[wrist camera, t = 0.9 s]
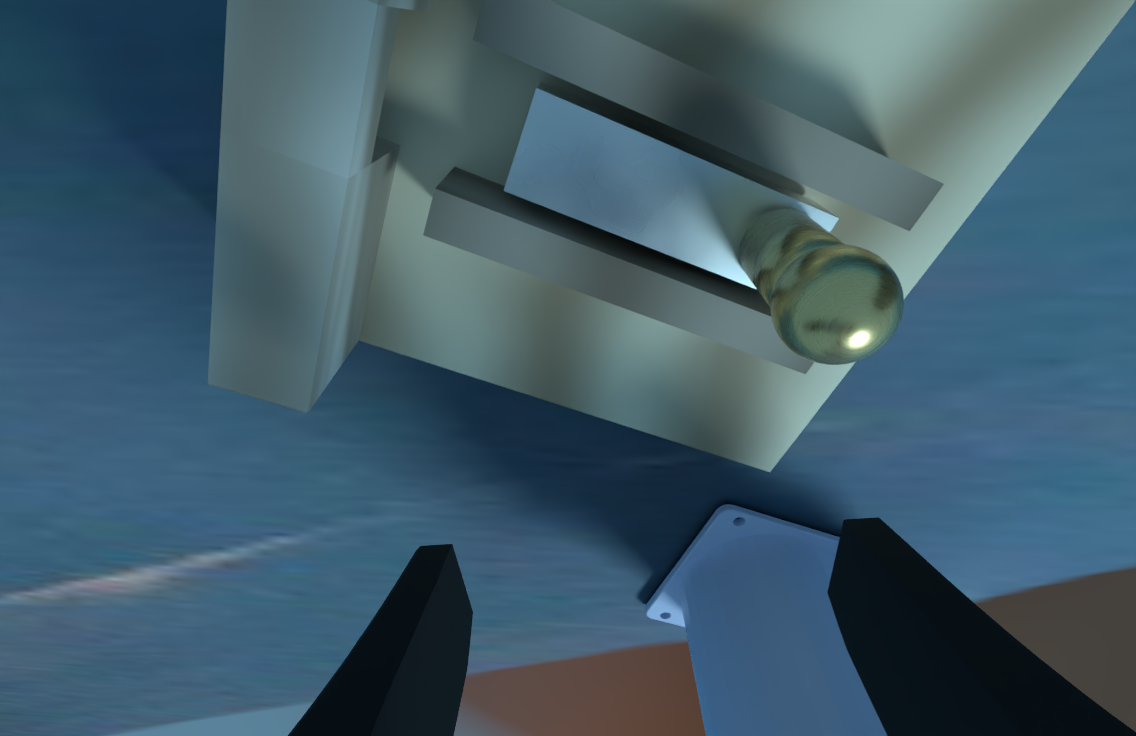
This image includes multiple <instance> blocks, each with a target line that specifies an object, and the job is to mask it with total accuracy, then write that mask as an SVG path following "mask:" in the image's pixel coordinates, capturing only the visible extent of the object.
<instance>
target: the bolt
mask: <svg viewBox="0 0 1136 736" xmlns="http://www.w3.org/2000/svg"><path fill="white" fill-rule="evenodd" d="M504 191H505V192H508V193H510V194H513V195H515V196H518V197H521V198H523V199H526V200H528V201H531V202H533V203H536V204H539V205H541V206H544V207H546V208H549V209H551V210H554V211H557V212H559V213H562V214H564V215H567V216H569V217H572V218H575V219H577V220H580V221H582V222H585V223H587V224H590V225H592V226H595V227H598V228H600V229H603V230H605V231H608V232H610V233H613V234H616V235H618V236H621V237H623V238H626V239H628V240H631V241H634V242H636V243H639V244H641V245H644V246H646V247H649V248H652V249H654V250H657V251H659V252H662V253H664V254H667V255H669V256H672V257H675V258H677V259H680V260H682V261H685V262H687V263H690V264H693V265H695V266H698V267H700V268H703V269H705V270H708V271H711V272H713V273H716V274H718V275H721V276H723V277H726V278H729V279H731V280H734V281H736V282H739V283H741V284H744V285H746V286H749V287H752V288H754V289H757V290H758V291H759V293H760V294H761V295H762V297H763V298H764V300H765V301H766V302H767V304H768V305H769V306H770V308H771V317H772V322H773V325H774V328H775V330H776V332H777V334H778V336H779V337H780V339H781V340H782V341H783V343H784V344H785V345H786V346H787V347H788V348H789V349H790V350H791V351H793V352H794V353H796V354H797V355H799V356H800V357H802V358H805V359H807V360H809V361H812V362H815V363H820V364H826V365H841V364H848V363H853V362H856V361H859V360H862V359H864V358H866V357H868V356H870V355H872V354H873V353H875V352H876V351H878V350H879V349H880V348H882V347H883V346H884V345H885V344H886V343H887V342H888V341H889V340H890V338H891V337H892V336H893V334H894V333H895V331H896V329H897V328H898V325H899V323H900V320H901V318H902V314H903V307H904V296H903V290H902V286H901V283H900V281H899V278H898V276H897V275H896V273H895V272H894V270H893V269H892V267H891V266H890V265H889V264H888V263H887V262H886V261H885V260H884V259H882V258H881V257H880V256H878V255H877V254H875V253H873V252H871V251H869V250H867V249H864V248H861V247H857V246H852V245H845V244H844V243H843V242H841V241H840V240H839V239H837V238H836V237H835V236H833V235H832V234H831V233H830V232H831V230H832V229H833V227H834V226H835V224H836V222H837V221H838V219H839V218H838V217H836V216H835V215H834V214H832V213H831V212H829V211H828V210H826V209H825V208H823V207H822V206H820V205H819V204H818V203H816V202H815V201H813V200H812V199H809V198H807V197H805V196H802V195H800V194H798V193H795V192H793V191H791V190H788V189H786V188H784V187H782V186H779V185H777V184H775V183H772V182H770V181H768V180H765V179H763V178H761V177H759V176H756V175H754V174H752V173H749V172H747V171H745V170H742V169H740V168H738V167H735V166H733V165H731V164H729V163H726V162H724V161H722V160H719V159H717V158H715V157H712V156H710V155H708V154H705V153H703V152H701V151H699V150H696V149H694V148H692V147H689V146H687V145H685V144H682V143H680V142H678V141H675V140H673V139H671V138H669V137H666V136H664V135H662V134H659V133H657V132H655V131H652V130H650V129H648V128H646V127H643V126H641V125H639V124H636V123H634V122H632V121H629V120H627V119H625V118H622V117H620V116H618V115H616V114H613V113H611V112H609V111H606V110H604V109H602V108H599V107H597V106H595V105H592V104H590V103H588V102H586V101H583V100H581V99H579V98H576V97H574V96H572V95H569V94H567V93H565V92H563V91H560V90H558V89H556V88H553V87H551V86H549V85H546V84H544V83H542V82H540V83H539V85H538V86H537V88H536V90H535V94H534V97H533V100H532V103H531V106H530V109H529V112H528V115H527V119H526V122H525V125H524V128H523V131H522V134H521V137H520V141H519V144H518V147H517V150H516V153H515V156H514V159H513V162H512V166H511V169H510V172H509V175H508V178H507V181H506V184H505V188H504Z"/></svg>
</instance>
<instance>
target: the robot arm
mask: <svg viewBox="0 0 1136 736" xmlns="http://www.w3.org/2000/svg"><path fill="white" fill-rule="evenodd" d="M739 517H740V518H739ZM736 518H739V519H736ZM645 610H646V615H647V616H648V617H649V618H652V619H655V620H659V621H663V622H667V623H671V624H675V625H679V626H683V627H685V628H686V633H687V638H688V643H689V649H690V654H691V659H692V664H693V669H694V675H695V679H696V685H697V690H698V695H699V701H700V706H701V711H702V717H703V722H704V727H705V732H706V736H1136V732H1135V731H1133V730H1132V729H1131V728H1129V727H1128V726H1126V725H1125V724H1124V723H1122V722H1121V721H1119V720H1118V719H1117V718H1115V717H1114V716H1113V715H1111V714H1110V713H1109V712H1107V711H1106V710H1105V709H1103V708H1102V707H1101V706H1099V705H1098V704H1097V703H1095V702H1094V701H1093V700H1091V699H1090V698H1089V697H1088V696H1086V695H1085V694H1084V693H1082V692H1081V691H1080V690H1079V689H1077V688H1076V687H1075V686H1073V685H1072V684H1071V683H1070V682H1068V681H1067V680H1066V679H1065V678H1063V677H1062V676H1061V675H1060V674H1058V673H1057V672H1056V671H1055V670H1053V669H1052V668H1051V667H1050V666H1048V665H1047V664H1046V663H1045V662H1043V661H1042V660H1041V659H1039V658H1038V657H1037V656H1036V655H1035V654H1033V653H1032V652H1031V651H1030V650H1029V649H1027V648H1026V647H1025V646H1024V645H1022V644H1021V643H1020V642H1019V641H1018V640H1016V639H1015V638H1014V637H1013V636H1012V635H1011V634H1009V633H1008V632H1007V631H1006V630H1005V629H1003V628H1002V627H1001V626H1000V625H999V624H998V623H997V622H995V621H994V620H993V619H992V618H991V617H990V616H988V615H987V614H986V613H985V612H984V611H983V610H981V609H980V608H979V607H978V606H976V604H974V603H973V602H972V601H971V600H970V599H969V598H968V597H966V596H965V595H964V594H963V593H962V592H961V591H960V590H958V589H957V588H956V587H955V586H954V585H953V584H952V583H951V582H950V581H948V580H947V579H946V578H945V577H944V576H943V575H942V574H941V573H940V572H938V571H937V570H936V569H935V568H934V567H933V566H932V565H931V564H930V563H928V562H927V561H926V560H925V559H924V558H923V557H922V556H921V555H920V554H919V553H917V552H916V551H915V550H914V549H913V548H912V547H911V546H910V545H909V544H908V543H906V542H905V541H904V540H903V539H902V538H901V537H900V536H899V535H898V534H897V533H895V532H894V531H893V530H892V529H891V528H890V527H889V526H888V525H887V524H885V523H884V522H883V521H882V520H881V519H880V518H863V519H847V520H844V522H843V526H842V530H841V535H840V537H837V536H834V535H831V534H827V533H824V532H821V531H817V530H814V529H811V528H808V527H804V526H801V525H798V524H794V523H791V522H788V521H784V520H781V519H778V518H775V517H771V516H768V515H765V514H761V513H758V512H755V511H751V510H748V509H745V508H742V507H738V506H735V505H730V504H726V505H722V506H720V507H719V508H718V509H717V510H716V511H715V512H714V514H713V515H712V517H711V518H710V519H709V521H708V522H707V523H706V525H705V526H704V527H703V529H702V530H701V531H700V533H699V534H698V535H697V537H696V538H695V539H694V541H693V542H692V543H691V545H690V546H689V548H688V549H687V550H686V552H685V553H684V554H683V556H682V557H681V558H680V560H679V561H678V562H677V564H676V565H675V566H674V568H673V569H672V570H671V572H670V573H669V574H668V576H667V577H666V579H665V580H664V581H663V583H662V584H661V585H660V587H659V588H658V589H657V591H656V592H655V593H654V595H653V596H652V597H651V599H650V600H649V601H648V603H647V604H646V606H645ZM472 615H473V611H472V608H471V604H470V601H469V598H468V595H467V591H466V588H465V585H464V581H463V578H462V575H461V571H460V568H459V565H458V562H457V558H456V555H455V552H454V548H453V545H452V544H446V545H430V546H420V547H419V548H418V549H417V550H416V552H415V553H414V555H413V557H412V558H411V560H410V562H409V563H408V565H407V566H406V568H405V570H404V571H403V573H402V574H401V576H400V578H399V579H398V581H397V582H396V584H395V586H394V587H393V589H392V590H391V592H390V593H389V595H388V597H387V598H386V600H385V601H384V603H383V604H382V606H381V607H380V609H379V610H378V612H377V614H376V615H375V617H374V618H373V620H372V621H371V623H370V624H369V625H368V627H367V628H366V630H365V631H364V633H363V634H362V636H361V637H360V639H359V640H358V642H357V643H356V644H355V646H354V647H353V649H352V650H351V652H350V653H349V655H348V656H347V658H346V659H345V660H344V662H343V663H342V665H341V666H340V667H339V669H338V670H337V672H336V673H335V674H334V676H333V677H332V678H331V680H330V681H329V682H328V684H327V685H326V686H325V688H324V689H323V690H322V692H321V693H320V694H319V696H318V697H317V698H316V700H315V701H314V702H313V704H312V705H311V707H310V708H309V709H308V710H307V712H306V713H305V714H304V716H303V717H302V718H301V720H300V721H299V722H298V723H297V725H296V726H295V727H294V728H293V730H292V731H291V732H290V733H289V735H288V736H453V735H454V731H455V726H456V721H457V716H458V711H459V707H460V702H461V697H462V692H463V686H464V682H465V677H466V672H467V665H468V656H469V647H470V637H471V626H472Z"/></svg>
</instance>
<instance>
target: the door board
mask: <svg viewBox="0 0 1136 736" xmlns="http://www.w3.org/2000/svg"><path fill="white" fill-rule="evenodd" d="M1134 2H1135V0H227V14H226V34H225V54H224V74H223V93H222V113H221V133H220V153H219V172H218V192H217V212H216V232H215V252H214V271H213V291H212V311H211V331H210V350H209V370H208V384H209V385H212V386H216V387H219V388H223V389H226V390H230V391H233V392H237V393H240V394H243V395H247V396H250V397H254V398H257V399H261V400H264V401H267V402H271V403H274V404H278V405H281V406H285V407H288V408H292V409H295V410H298V411H302V412H305V413H308V412H309V411H310V410H311V408H312V407H313V405H314V404H315V402H316V401H317V400H318V398H319V397H320V395H321V394H322V392H323V391H324V390H325V388H326V387H327V385H328V384H329V382H330V381H331V379H332V378H333V377H334V375H335V374H336V372H337V371H338V369H339V368H340V367H341V365H342V364H343V362H344V361H345V359H346V358H347V357H348V355H349V354H350V352H351V351H352V349H353V348H354V347H355V345H356V344H357V342H358V341H362V342H365V343H368V344H371V345H374V346H377V347H380V348H384V349H387V350H390V351H393V352H396V353H399V354H402V355H405V356H409V357H412V358H415V359H418V360H421V361H424V362H427V363H430V364H433V365H437V366H440V367H443V368H446V369H449V370H452V371H455V372H458V373H462V374H465V375H468V376H471V377H474V378H477V379H480V380H483V381H487V382H490V383H493V384H496V385H499V386H502V387H505V388H508V389H512V390H515V391H518V392H521V393H524V394H527V395H530V396H533V397H536V398H540V399H543V400H546V401H549V402H552V403H555V404H558V405H561V406H565V407H568V408H571V409H574V410H577V411H580V412H583V413H586V414H590V415H593V416H596V417H599V418H602V419H605V420H608V421H611V422H615V423H618V424H621V425H624V426H627V427H630V428H633V429H636V430H639V431H643V432H646V433H649V434H652V435H655V436H658V437H661V438H664V439H668V440H671V441H674V442H677V443H680V444H683V445H686V446H689V447H693V448H696V449H699V450H702V451H705V452H708V453H711V454H714V455H718V456H721V457H724V458H727V459H730V460H733V461H736V462H739V463H742V464H746V465H749V466H752V467H755V468H758V469H761V470H764V471H767V472H771V470H772V469H773V468H774V466H775V465H776V464H777V463H778V461H779V460H780V459H781V457H782V456H783V455H784V454H785V452H786V451H787V450H788V448H789V447H790V446H791V445H792V443H793V442H794V441H795V439H796V438H797V437H798V435H799V434H800V433H801V432H802V430H803V429H804V428H805V426H806V425H807V424H808V423H809V421H810V420H811V419H812V417H813V416H814V415H815V414H816V412H817V411H818V410H819V408H820V407H821V406H822V404H823V403H824V402H825V401H826V399H827V398H828V397H829V395H830V394H831V393H832V392H833V390H834V389H835V388H836V386H837V385H838V384H839V383H840V381H841V380H842V379H843V377H844V376H845V375H846V374H847V372H848V371H849V370H850V368H851V367H852V366H853V364H854V363H855V362H853V363H848V364H841V365H826V364H820V363H815V362H812V361H809V360H807V359H805V358H802V357H800V356H799V355H797V354H796V353H794V352H793V351H791V350H790V349H789V348H788V347H787V346H786V345H785V344H784V343H783V341H782V340H781V339H780V337H779V336H778V334H777V332H776V330H775V328H774V325H773V322H772V317H771V308H770V306H769V305H768V304H767V302H766V301H765V300H764V298H763V297H762V295H761V294H760V293H759V291H758V290H757V289H754V288H752V287H749V286H746V285H744V284H741V283H739V282H736V281H734V280H731V279H729V278H726V277H723V276H721V275H718V274H716V273H713V272H711V271H708V270H705V269H703V268H700V267H698V266H695V265H693V264H690V263H687V262H685V261H682V260H680V259H677V258H675V257H672V256H669V255H667V254H664V253H662V252H659V251H657V250H654V249H652V248H649V247H646V246H644V245H641V244H639V243H636V242H634V241H631V240H628V239H626V238H623V237H621V236H618V235H616V234H613V233H610V232H608V231H605V230H603V229H600V228H598V227H595V226H592V225H590V224H587V223H585V222H582V221H580V220H577V219H575V218H572V217H569V216H567V215H564V214H562V213H559V212H557V211H554V210H551V209H549V208H546V207H544V206H541V205H539V204H536V203H533V202H531V201H528V200H526V199H523V198H521V197H518V196H515V195H513V194H510V193H508V192H505V191H504V188H505V184H506V181H507V178H508V175H509V172H510V169H511V166H512V162H513V159H514V156H515V153H516V150H517V147H518V144H519V141H520V137H521V134H522V131H523V128H524V125H525V122H526V119H527V115H528V112H529V109H530V106H531V103H532V100H533V97H534V94H535V90H536V88H537V86H538V85H539V83H540V82H542V83H544V84H546V85H549V86H551V87H553V88H556V89H558V90H560V91H563V92H565V93H567V94H569V95H572V96H574V97H576V98H579V99H581V100H583V101H586V102H588V103H590V104H592V105H595V106H597V107H599V108H602V109H604V110H606V111H609V112H611V113H613V114H616V115H618V116H620V117H622V118H625V119H627V120H629V121H632V122H634V123H636V124H639V125H641V126H643V127H646V128H648V129H650V130H652V131H655V132H657V133H659V134H662V135H664V136H666V137H669V138H671V139H673V140H675V141H678V142H680V143H682V144H685V145H687V146H689V147H692V148H694V149H696V150H699V151H701V152H703V153H705V154H708V155H710V156H712V157H715V158H717V159H719V160H722V161H724V162H726V163H729V164H731V165H733V166H735V167H738V168H740V169H742V170H745V171H747V172H749V173H752V174H754V175H756V176H759V177H761V178H763V179H765V180H768V181H770V182H772V183H775V184H777V185H779V186H782V187H784V188H786V189H788V190H791V191H793V192H795V193H798V194H800V195H802V196H805V197H807V198H809V199H812V200H813V201H815V202H816V203H818V204H819V205H820V206H822V207H823V208H825V209H826V210H828V211H829V212H831V213H832V214H834V215H835V216H836V217H838V218H839V219H838V221H837V222H836V224H835V226H834V227H833V229H832V230H831V232H830V233H831V234H832V235H833V236H835V237H836V238H837V239H839V240H840V241H841V242H843V243H844V244H845V245H852V246H857V247H861V248H864V249H867V250H869V251H871V252H873V253H875V254H877V255H878V256H880V257H881V258H882V259H884V260H885V261H886V262H887V263H888V264H889V265H890V266H891V267H892V269H893V270H894V272H895V273H896V275H897V276H898V278H899V281H900V283H901V286H902V290H903V296H904V299H905V297H906V296H907V295H908V293H909V292H910V291H911V290H912V288H913V287H914V286H915V284H916V283H917V282H918V281H919V279H920V278H921V277H922V275H923V274H924V273H925V271H926V270H927V269H928V268H929V266H930V265H931V264H932V262H933V261H934V260H935V259H936V257H937V256H938V255H939V253H940V252H941V251H942V250H943V248H944V247H945V246H946V244H947V243H948V242H949V240H950V239H951V238H952V237H953V235H954V234H955V233H956V231H957V230H958V229H959V228H960V226H961V225H962V224H963V222H964V221H965V220H966V219H967V217H968V216H969V215H970V213H971V212H972V211H973V210H974V208H975V207H976V206H977V204H978V203H979V202H980V200H981V199H982V198H983V197H984V195H985V194H986V193H987V191H988V190H989V189H990V188H991V186H992V185H993V184H994V182H995V181H996V180H997V179H998V177H999V176H1000V175H1001V173H1002V172H1003V171H1004V169H1005V168H1006V167H1007V166H1008V164H1009V163H1010V162H1011V160H1012V159H1013V158H1014V157H1015V155H1016V154H1017V153H1018V151H1019V150H1020V149H1021V148H1022V146H1023V145H1024V144H1025V142H1026V141H1027V140H1028V138H1029V137H1030V136H1031V135H1032V133H1033V132H1034V131H1035V129H1036V128H1037V127H1038V126H1039V124H1040V123H1041V122H1042V120H1043V119H1044V118H1045V117H1046V115H1047V114H1048V113H1049V111H1050V110H1051V109H1052V107H1053V106H1054V105H1055V104H1056V102H1057V101H1058V100H1059V98H1060V97H1061V96H1062V95H1063V93H1064V92H1065V91H1066V89H1067V88H1068V87H1069V86H1070V84H1071V83H1072V82H1073V80H1074V79H1075V78H1076V77H1077V75H1078V74H1079V73H1080V71H1081V70H1082V69H1083V67H1084V66H1085V65H1086V64H1087V62H1088V61H1089V60H1090V58H1091V57H1092V56H1093V55H1094V53H1095V52H1096V51H1097V49H1098V48H1099V47H1100V46H1101V44H1102V43H1103V42H1104V40H1105V39H1106V38H1107V36H1108V35H1109V34H1110V33H1111V31H1112V30H1113V29H1114V27H1115V26H1116V25H1117V24H1118V22H1119V21H1120V20H1121V18H1122V17H1123V16H1124V15H1125V13H1126V12H1127V11H1128V9H1129V8H1130V7H1131V5H1132V4H1133V3H1134Z"/></svg>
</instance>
